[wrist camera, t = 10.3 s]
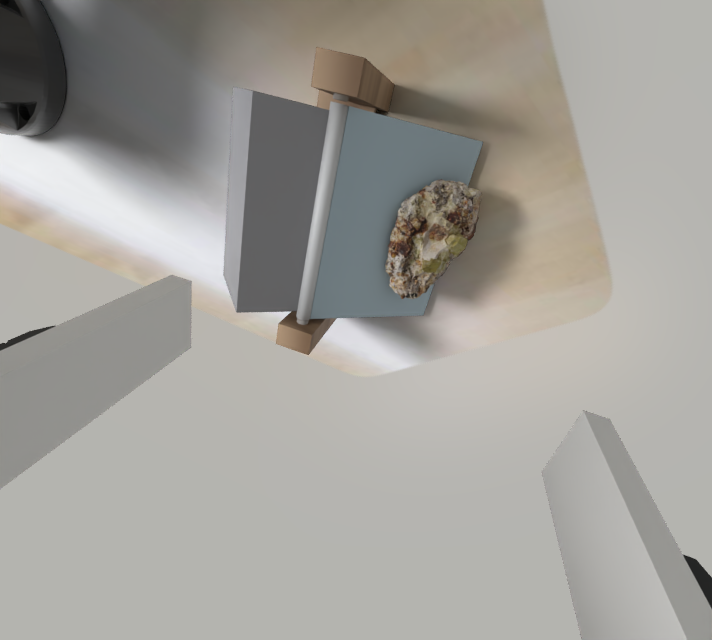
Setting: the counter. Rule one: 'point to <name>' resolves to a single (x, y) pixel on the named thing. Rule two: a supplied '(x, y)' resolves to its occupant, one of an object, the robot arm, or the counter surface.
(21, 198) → the counter surface
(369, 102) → the frame
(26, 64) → the robot arm
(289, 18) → the counter surface
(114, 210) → the counter surface
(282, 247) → the trapdoor
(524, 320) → the counter surface
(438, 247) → the mineral rock
